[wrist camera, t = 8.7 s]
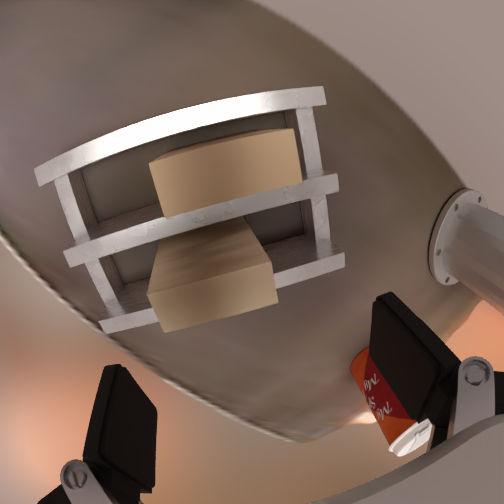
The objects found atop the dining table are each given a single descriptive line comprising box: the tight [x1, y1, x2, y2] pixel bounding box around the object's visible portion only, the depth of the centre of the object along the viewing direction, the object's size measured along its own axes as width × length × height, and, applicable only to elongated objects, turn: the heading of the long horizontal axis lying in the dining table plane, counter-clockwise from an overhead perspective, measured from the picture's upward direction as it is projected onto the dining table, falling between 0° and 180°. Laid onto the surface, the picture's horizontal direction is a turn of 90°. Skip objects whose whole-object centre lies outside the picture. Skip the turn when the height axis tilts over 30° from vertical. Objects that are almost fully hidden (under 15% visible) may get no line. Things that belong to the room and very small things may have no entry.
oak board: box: [149, 128, 303, 219], centre depth 15 cm, size 6×2×9 cm, turn 102°
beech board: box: [147, 216, 279, 333], centre depth 17 cm, size 6×2×9 cm, turn 101°
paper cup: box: [350, 347, 432, 456], centre depth 26 cm, size 8×8×14 cm
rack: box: [34, 86, 345, 334], centre depth 18 cm, size 18×12×5 cm
